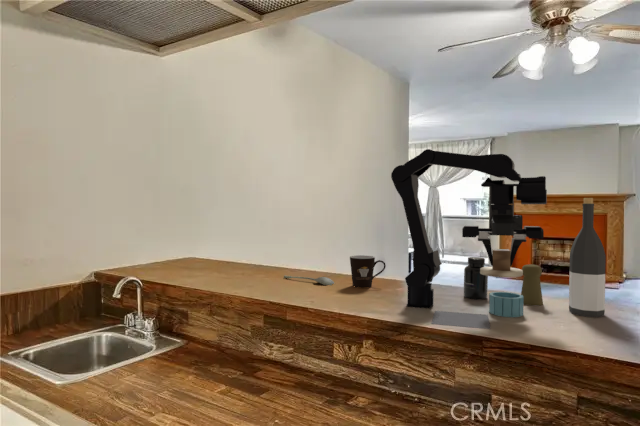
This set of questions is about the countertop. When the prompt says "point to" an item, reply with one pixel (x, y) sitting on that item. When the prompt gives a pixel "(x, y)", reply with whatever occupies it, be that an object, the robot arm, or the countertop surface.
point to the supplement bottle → (475, 279)
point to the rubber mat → (461, 319)
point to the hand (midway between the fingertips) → (501, 265)
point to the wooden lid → (501, 265)
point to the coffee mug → (363, 270)
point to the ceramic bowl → (506, 304)
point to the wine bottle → (587, 269)
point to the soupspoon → (321, 280)
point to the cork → (532, 285)
